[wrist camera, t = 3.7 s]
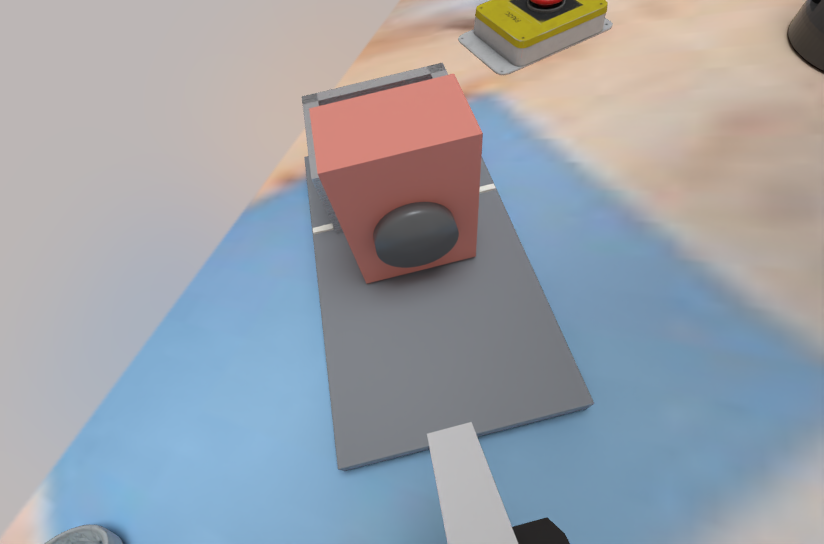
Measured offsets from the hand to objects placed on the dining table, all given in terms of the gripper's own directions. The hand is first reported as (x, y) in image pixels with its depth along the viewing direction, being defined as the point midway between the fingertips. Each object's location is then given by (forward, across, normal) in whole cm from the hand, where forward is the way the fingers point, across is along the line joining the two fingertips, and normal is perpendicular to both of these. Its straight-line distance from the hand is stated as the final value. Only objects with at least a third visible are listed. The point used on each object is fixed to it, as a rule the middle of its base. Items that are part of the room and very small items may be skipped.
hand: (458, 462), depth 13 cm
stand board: (+18, +1, +3) cm, 19 cm away
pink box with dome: (+17, +1, +4) cm, 18 cm away
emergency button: (+37, +21, +21) cm, 47 cm away
